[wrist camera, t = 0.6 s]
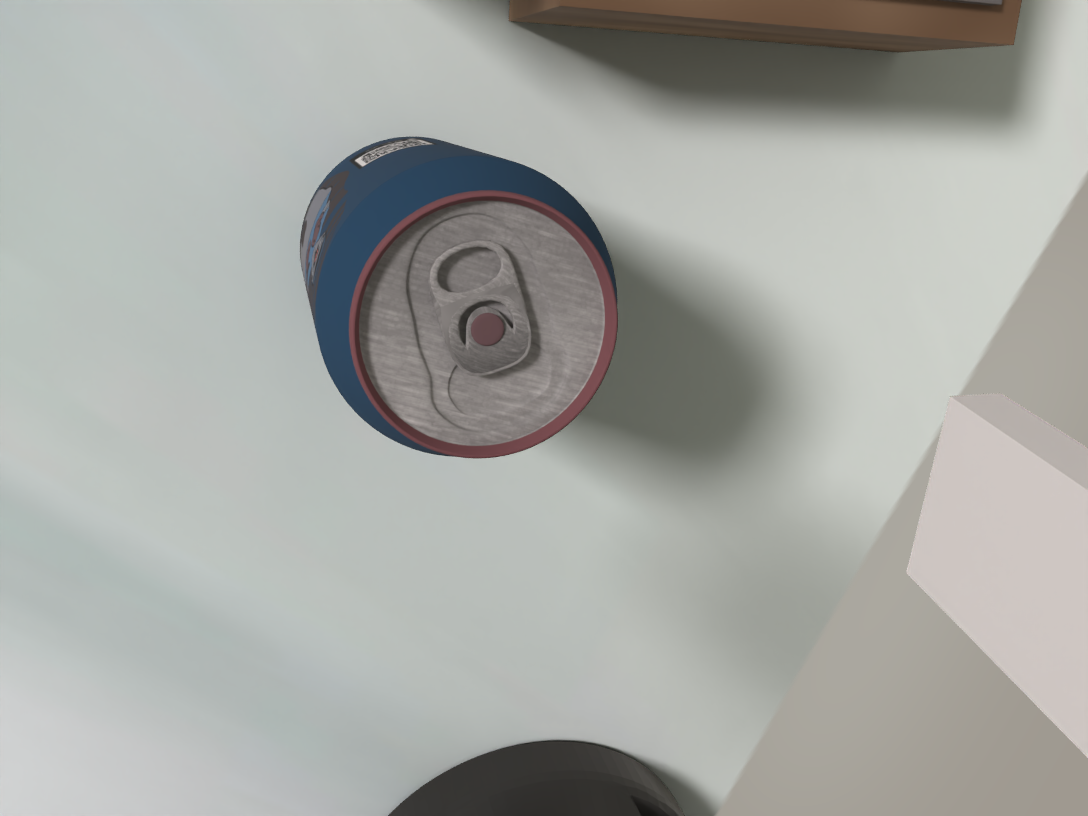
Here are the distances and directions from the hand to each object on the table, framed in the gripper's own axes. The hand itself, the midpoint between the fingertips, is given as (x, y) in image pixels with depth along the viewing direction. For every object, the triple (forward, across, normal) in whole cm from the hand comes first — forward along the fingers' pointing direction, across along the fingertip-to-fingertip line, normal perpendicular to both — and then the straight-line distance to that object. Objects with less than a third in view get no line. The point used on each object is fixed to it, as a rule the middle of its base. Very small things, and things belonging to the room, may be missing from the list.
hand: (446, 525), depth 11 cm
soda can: (+21, -2, +2) cm, 21 cm away
